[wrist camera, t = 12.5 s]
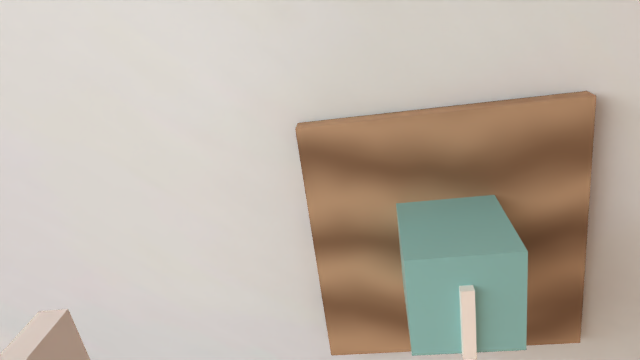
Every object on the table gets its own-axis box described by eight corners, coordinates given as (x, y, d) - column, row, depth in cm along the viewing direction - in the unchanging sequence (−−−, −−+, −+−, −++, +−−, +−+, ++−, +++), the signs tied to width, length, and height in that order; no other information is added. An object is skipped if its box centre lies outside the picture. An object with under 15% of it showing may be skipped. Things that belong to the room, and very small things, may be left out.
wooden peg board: (297, 123, 37) (283, 154, 30) (587, 90, 34) (638, 117, 28) (332, 343, 44) (326, 406, 38) (572, 330, 42) (611, 395, 35)
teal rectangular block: (396, 203, 37) (404, 266, 29) (494, 194, 36) (531, 256, 28) (403, 284, 39) (412, 362, 32) (495, 278, 39) (529, 356, 31)
